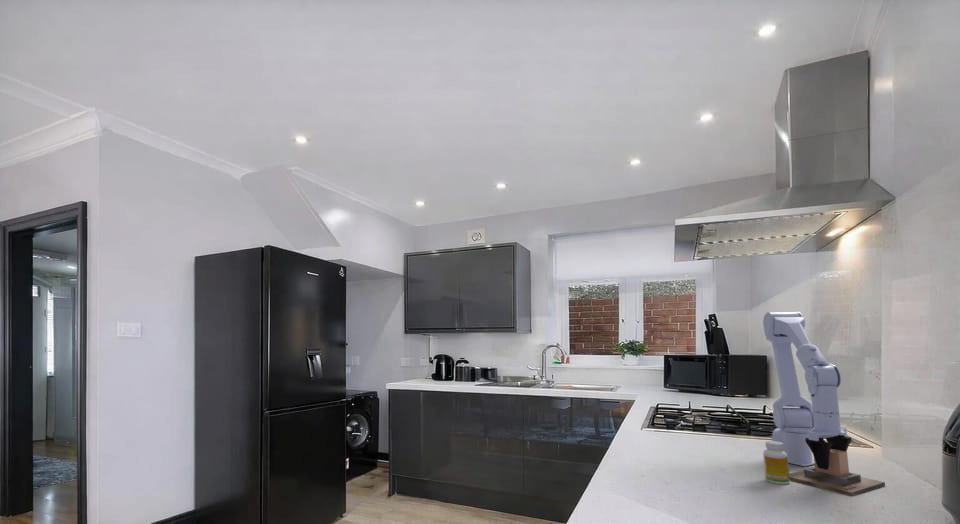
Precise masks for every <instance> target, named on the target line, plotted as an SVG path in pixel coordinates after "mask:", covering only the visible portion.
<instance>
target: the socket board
mask: <svg viewBox="0 0 960 524" xmlns="http://www.w3.org/2000/svg"><path fill="white" fill-rule="evenodd" d="M789 479H790V481H792V482H795V483H798V484H799V483H800V484H804V485H806V486H811V487H816V488H819V489H822V490H827V491H830V492H835V493H839V494H842V495H846V496H850V497H853V496H857V495H860V494H863V493H866V492H870V491H873V490H876V489H879V488H883V487H885V486H886V482H884V481H881V480H875V479H871V478H867V477H862V476H861V473H855V472H851V471H849V476H846V477H839V476H834V475H830V474H826V473H821V472H817V471H815V466H813V467H810V468H805V469H802V470H798V471H794V472H789Z"/></svg>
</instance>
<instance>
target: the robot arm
mask: <svg viewBox="0 0 960 524" xmlns="http://www.w3.org/2000/svg"><path fill="white" fill-rule="evenodd" d="M805 319H806V318H805V317H804V315H803V314H802V313H801V312H800V311H795V312H793V311H791V312H789V311H788V312H784V311H783V312H780V311H779V312H770V311H767V312H766V313H765V314H764V316H763V319H762V323H763V324H762V325H763V330H764V331H763V332H764V336H765V339H766V340H767V341H768V342H771V346H772V349H773V355H774V360H775V365H776V372H777V377H778V378H777V379H778V383H779V389H780V394H781V396H780V397H779V398H778V399H777V400H775V401H774V402H773V405H772V408H773V412H772V417H773V423H774V425H775V426H776V427H777V428H775V429H774V430H773V431H772V435H771V441H777V442H781V443H783V447H784V449H783V451H784V452H786V454H787V457H788V464H791V465H796V466H800V467H808V466H813V465H815V464H814V458H815V461H816V464H817V466H818V468H820V469H825V470H828V468H829V453H830V449H835V450H840V451H846V452H847V451H848V448H849V445H850V444H851V442H852V437H850V436H847V435H848V432H847V427H846V426H845V427H844V426H841V425H842V424H841V417H840V416H841V415H840V407H839V406H840V405H839V397H838V389H837V388H839V387H841V386H840V385H841V384H842V377H841V373H840V371H839V368H838V367H837V365H834V364H832V363H831V362H828V361H827V359H826V358H825V356H824V355H823V353H822V352H821V350H820V348H819V347H818V346H816V345H814V344H811V342H810V340H809V337H808V336H807V334H806V331H805V327H806V320H805ZM792 344H793V345H794V347H795V348H796V352H795V355H796V357H797V359H798V362H800V364H801V366H802V368H803V369H804V378H805V382H806V385H807V390H808V391H807V392H808V393H809V394H810V396H811V402H810V401H809V400H807V399H805V398H803V396H802V395H801V392H800V386H799V382H798V381H799V380H798V376H797V372H796V371H797V370H796V365H795V361H794V360H795V359H794V355H793V350H792ZM824 439H826V440H824ZM847 453H848V452H847Z"/></svg>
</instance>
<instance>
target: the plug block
mask: <svg viewBox="0 0 960 524" xmlns="http://www.w3.org/2000/svg"><path fill="white" fill-rule="evenodd" d="M813 460H814V464H813V465H814V467H815V471H817V472H821V473H826V474H830V475H834V476H839V477H846V476H849V472H850V469H849V467H850V466H849V459H848V452H846V451H840V450H835V449H830V453H829V468H828V470H825V469H820V468H818V466H817V464H816V461H815V458H814V457H813Z"/></svg>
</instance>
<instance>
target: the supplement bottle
mask: <svg viewBox="0 0 960 524" xmlns="http://www.w3.org/2000/svg"><path fill="white" fill-rule="evenodd" d="M765 447H766V449H765V450H763V453H762V454H763V465H764V467H763V468H764V478H765V480H766V481H767V482H769V483H770V484H774V485H775V484H776V485H789V484H790V481H791V480H790V479H789V473H790V472H789V463H788V457H787V454H786V452H784V451H783V449H784V447H783V443H781V442H777V441H772V440H765Z"/></svg>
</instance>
